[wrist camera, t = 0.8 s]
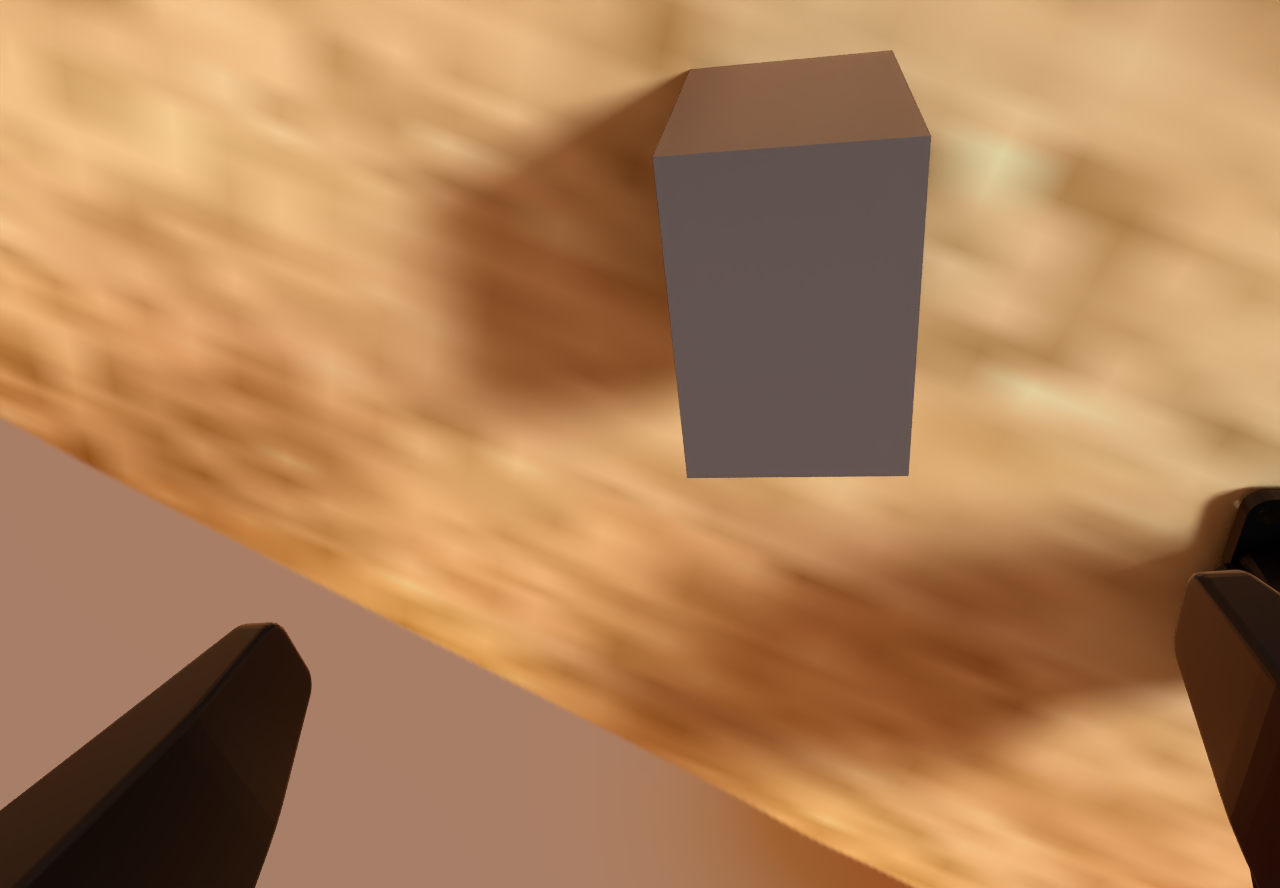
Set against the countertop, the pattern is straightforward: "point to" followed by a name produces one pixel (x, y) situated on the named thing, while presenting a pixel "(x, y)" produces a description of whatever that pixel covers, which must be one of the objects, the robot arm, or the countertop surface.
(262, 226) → the countertop surface
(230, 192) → the countertop surface
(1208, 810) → the countertop surface
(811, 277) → the plug block
